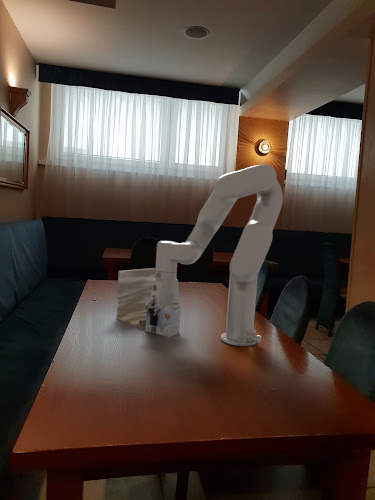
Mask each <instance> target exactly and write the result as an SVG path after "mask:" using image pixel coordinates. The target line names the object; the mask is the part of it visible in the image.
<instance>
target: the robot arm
mask: <svg viewBox="0 0 375 500" xmlns="http://www.w3.org/2000/svg"><path fill="white" fill-rule="evenodd" d="M277 178H278V177H277V172H276V170H275V169H274V168H273V167H272V166H270V165H269V164H267V163H266V164H263V163H261V164H257V165H253V166H250V167H246V168H244V169H240V170H236V171H233V172H229V173H225V174H223V175H221V176H220V177H218V178H217V180H216V182H215V185H214V189H213V190H212V192H211V194H210V196H209V197H208V199H207V200H206V201H205V203H204V205H203V207H202V209H200V211H199V214H198V217H197V221H196V223H195V225H194V227H193V229H192V231H191V233H190V234H189V236H188V237H187V239H186V241H184V242H181V243H179V242H176V241H172V240H160V241H158V242H157V244H156V258H155V269H156V272H155V274H154V277H155V279H154V282H153V286H152V291H151V299H149V300H148V301H147V302H146V303H145V307H146V309H147V311H148V312H149V314H150V325H152V326H155V327H156V326H157V318H158V316H157V315H156V314H157V312H158V310H159V309H164V306H166V305H171V304H176V303H179V304H181V303H182V301H183V298H182V297H180V288H179V287H180V286H179V280H178V279H177V274H178V273H177V272H178V271H177V270H178V269H177V268H178V263H179V264H181V265H192V264H194V263H196V261H197V260H199V258H200V257H201V256H202V254H203V253H204V251H205V249H207V247H208V245H209V244H210V242H211V240H212V239H213V237H214V236H215V234H216V232H218V230H219V229H220V227H221V225H222V224H223V222H225V220H226V218H227V215H229V213H230V211H231V210H232V209H233V207H234V205H235V203H237V200H238V199H240V198H245V197H248V196H252V195H255V194H256V202H255V205H254V208H253V210H252V213H251V215H250V217H249V220H248V222H247V223H246V225H245V227H244V228H243V231H242V233H241V235H240V239H239V240H238V244H237V246H236V248H235V250H234V253H233V256H232V257H231V260H230V262H229V283H228V293H227V294H228V295H227V307H226V308H227V309H226V320H225V322H226V323H225V332H223V333H221V334H220V341H222V342H223V343H226V344H228V345H230V346H231V345H232V346H237V347H250V346H253V345H256V344H260V343H261V341H262V338H263V337H262V335H259V334H257V330H256V329H254V326H255V315H256V314H255V312H256V300H257V292H258V291H257V289H258V278H259V277H258V276H259V275H258V274H259V273H260V270H261V268H262V265H263V263H264V261H265V259H266V256H267V254H268V252H269V250H270V247H271V244H272V241H273V230H274V229H275V228H274V227H275V225H276V224H277V223H276V222H277V220H278V217H279V215H280V212H281V210H282V206H283V202H284V199H283V198H284V194H283V190H282V187H281V184H280V182H279V180H278V179H277ZM153 303H154V304H153ZM152 304H153V305H152ZM155 305H156V306H155ZM151 306H152V307H151ZM155 308H156V309H155ZM154 309H155V310H154Z"/></svg>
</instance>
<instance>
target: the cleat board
mask: <svg viewBox="0 0 375 500" xmlns="http://www.w3.org/2000/svg"><path fill="white" fill-rule="evenodd" d="M155 272H156V267H154V268H153V267H152V268H141V269H140V268H139V269H128V270H127V269H126V270H118V279H117V296H116V297H117V298H116V300H117V301H116V320H119V321H122V322H124V323H126V324H129V325H132V326H134V327H136V328H139V329H140V330H143V329H146V317H147V309H146V307H145V303H146V302H147V301H148V300H149V299H151V291H152V286H153V282H154V279H155V277H154V274H155Z"/></svg>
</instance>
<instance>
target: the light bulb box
mask: <svg viewBox="0 0 375 500" xmlns="http://www.w3.org/2000/svg"><path fill="white" fill-rule="evenodd" d="M153 304H154V303H153ZM153 304H152V305H153ZM155 306H156V305H155ZM151 307H152V306H151ZM155 309H156V308H155ZM155 309H154V310H155ZM181 310H182V304H181V303H180V304H179V303H176V304H171V305H166V306H164V309H159V310H158V312H157V314H156V315H157V316H158V318H157V326H156V327H155V326H152V325H150V314H149V312H148V311H147V317H146V328H145V332H148V333H152V334H156V335H160V336H163V337H168V338H171V337H173V336H176V335H177V334H180V323H181V314H182V313H181Z"/></svg>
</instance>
